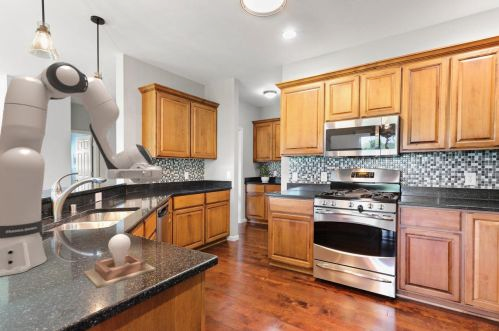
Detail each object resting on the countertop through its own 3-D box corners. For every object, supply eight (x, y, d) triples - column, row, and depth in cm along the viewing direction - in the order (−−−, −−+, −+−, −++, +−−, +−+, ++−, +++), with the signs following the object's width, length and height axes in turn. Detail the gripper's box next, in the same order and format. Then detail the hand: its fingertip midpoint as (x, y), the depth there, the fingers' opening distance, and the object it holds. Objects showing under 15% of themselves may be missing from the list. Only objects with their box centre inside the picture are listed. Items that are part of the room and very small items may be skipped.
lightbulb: (107, 275, 73) (107, 237, 73) (109, 268, 78) (109, 233, 78) (130, 271, 75) (130, 235, 75) (130, 264, 81) (130, 231, 81)
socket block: (97, 288, 66) (97, 276, 66) (83, 273, 76) (83, 263, 76) (155, 270, 78) (155, 260, 78) (137, 259, 87) (137, 250, 87)
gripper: (114, 166, 105) (100, 165, 92) (164, 166, 109) (158, 165, 95) (114, 181, 105) (100, 183, 91) (164, 180, 108) (158, 182, 95)
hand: (130, 174), depth 93 cm, fingers open, 8 cm apart
